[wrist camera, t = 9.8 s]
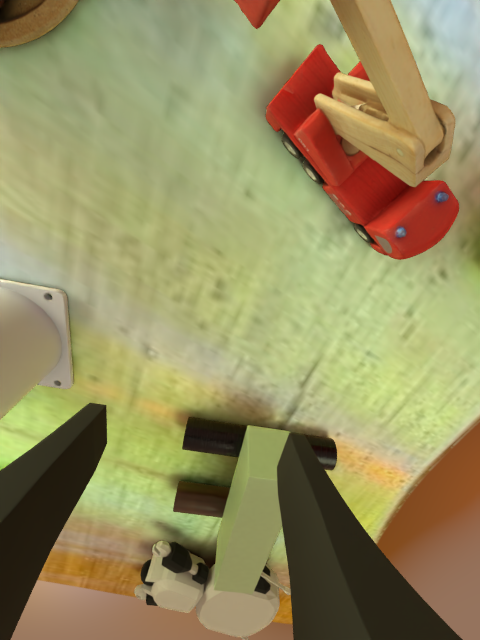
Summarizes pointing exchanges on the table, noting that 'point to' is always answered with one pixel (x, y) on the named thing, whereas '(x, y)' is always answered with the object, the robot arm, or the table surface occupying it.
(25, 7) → the toy sandwich meal
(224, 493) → the walnut rod
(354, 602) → the robot arm
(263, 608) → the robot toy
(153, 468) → the table surface
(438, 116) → the toy fire truck
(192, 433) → the black rod
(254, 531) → the bar
